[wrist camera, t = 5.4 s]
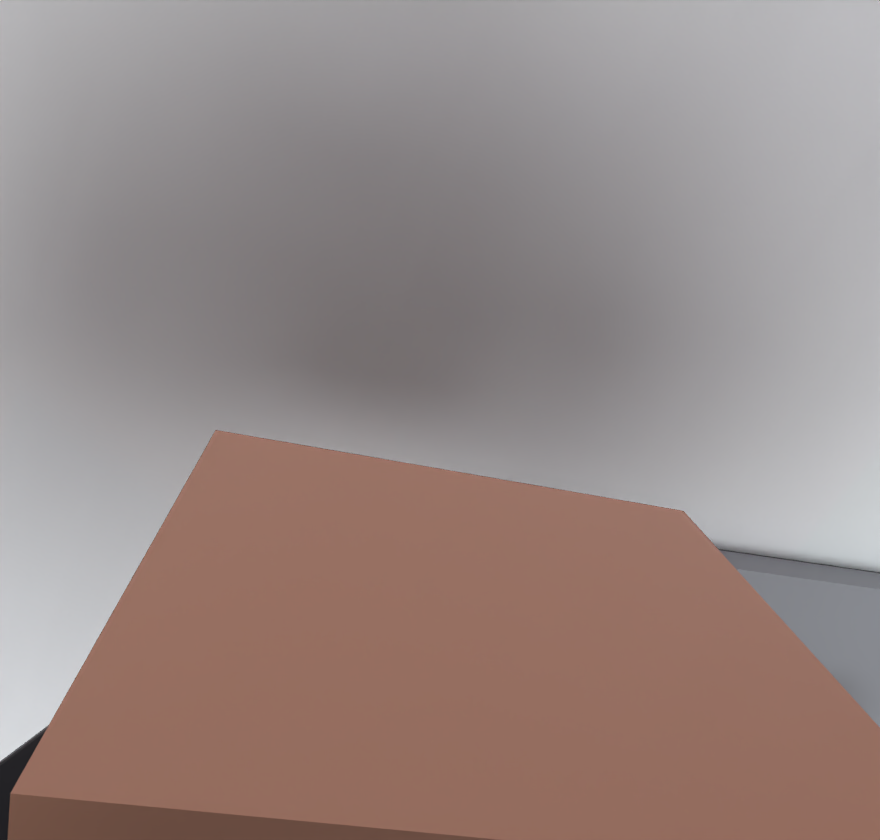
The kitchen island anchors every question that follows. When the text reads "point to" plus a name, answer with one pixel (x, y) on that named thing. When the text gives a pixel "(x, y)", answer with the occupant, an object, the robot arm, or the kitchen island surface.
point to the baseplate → (826, 616)
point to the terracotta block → (440, 673)
